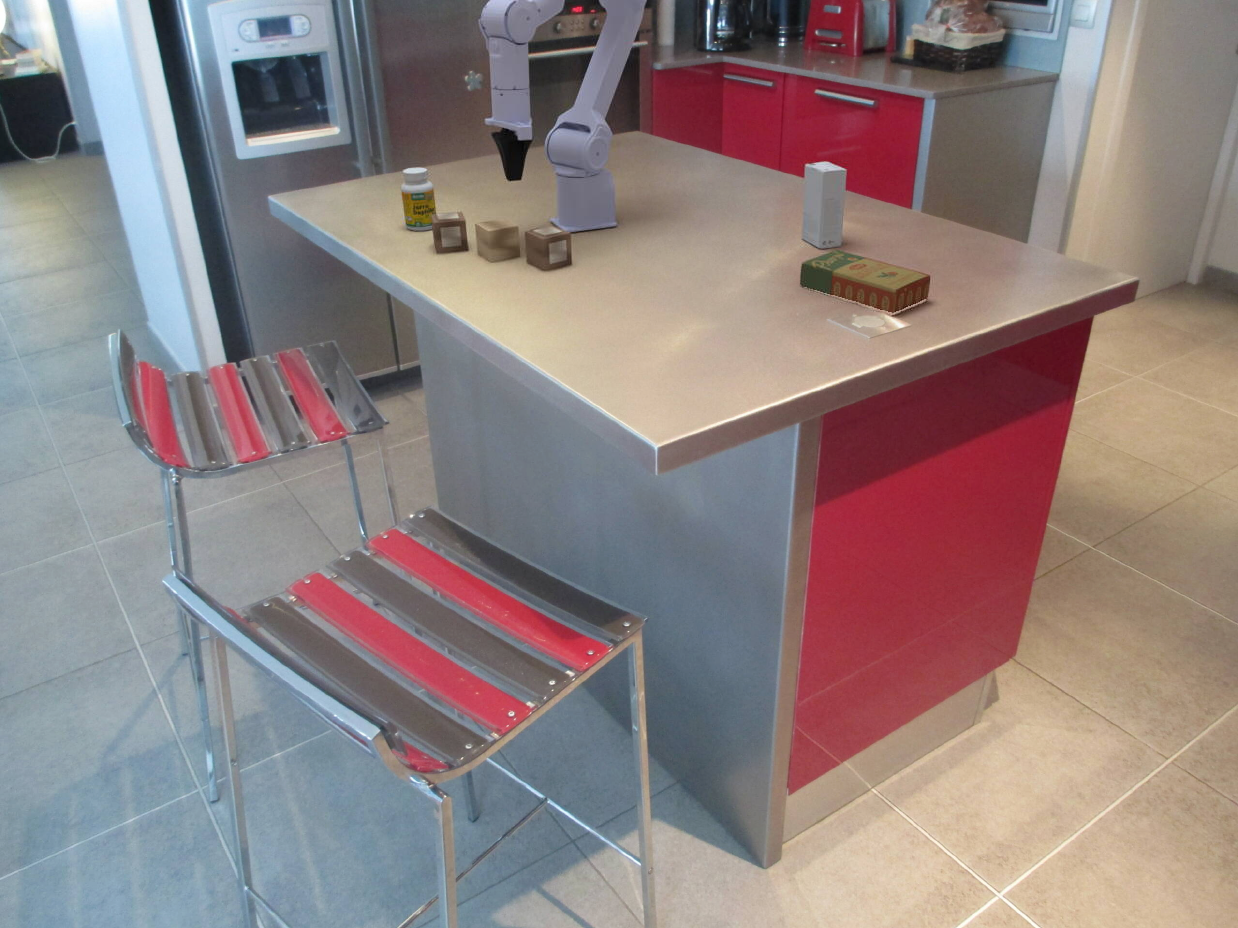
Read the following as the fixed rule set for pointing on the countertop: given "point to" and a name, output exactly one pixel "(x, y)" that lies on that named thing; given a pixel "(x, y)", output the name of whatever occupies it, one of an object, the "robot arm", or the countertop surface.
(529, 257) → the walnut block
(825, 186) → the skincare box
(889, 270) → the carton
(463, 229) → the walnut block
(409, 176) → the supplement bottle
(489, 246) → the oak block
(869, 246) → the countertop surface
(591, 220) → the robot arm
